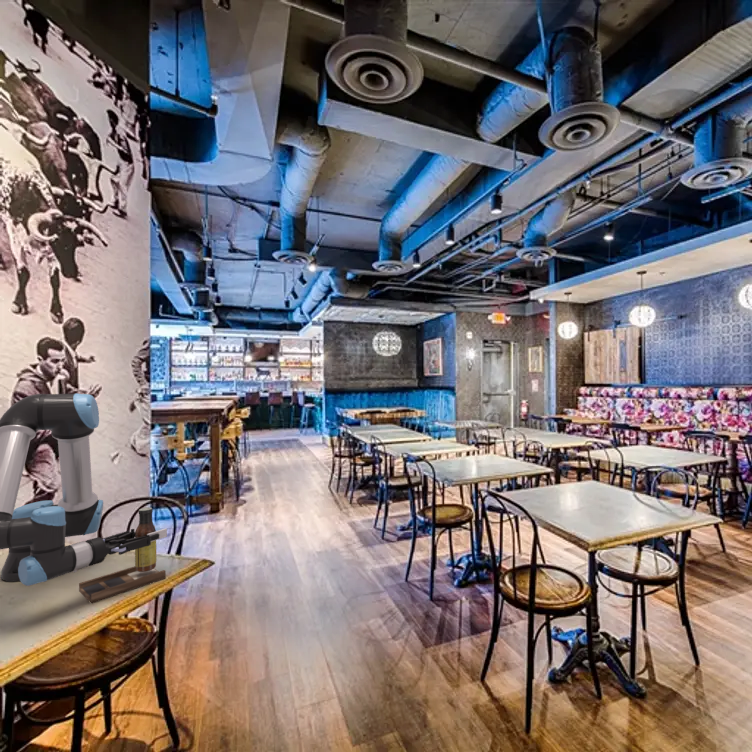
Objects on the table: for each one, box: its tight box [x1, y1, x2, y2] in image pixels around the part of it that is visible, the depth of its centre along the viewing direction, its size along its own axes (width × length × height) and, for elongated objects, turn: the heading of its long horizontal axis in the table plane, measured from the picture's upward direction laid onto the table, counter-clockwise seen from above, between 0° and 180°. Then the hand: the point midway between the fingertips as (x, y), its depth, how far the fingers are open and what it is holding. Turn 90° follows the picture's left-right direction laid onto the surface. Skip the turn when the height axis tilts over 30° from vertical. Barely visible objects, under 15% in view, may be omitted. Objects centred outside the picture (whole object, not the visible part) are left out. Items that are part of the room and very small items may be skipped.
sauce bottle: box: [134, 506, 157, 572], centre depth 138 cm, size 6×6×20 cm
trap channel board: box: [78, 566, 166, 604], centre depth 133 cm, size 12×21×2 cm, turn 140°
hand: (160, 531), depth 143 cm, fingers closed on sauce bottle, 6 cm apart
